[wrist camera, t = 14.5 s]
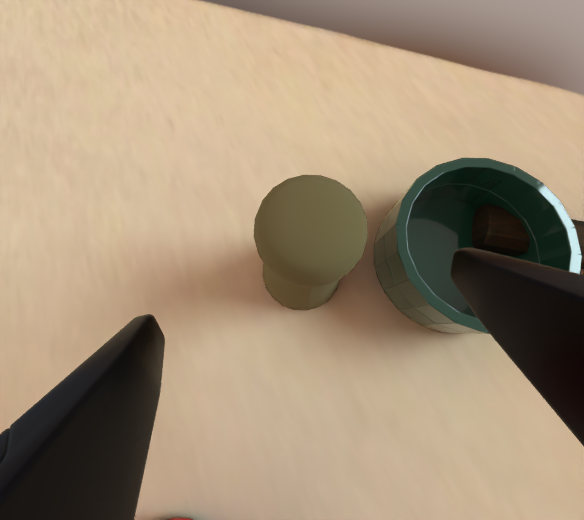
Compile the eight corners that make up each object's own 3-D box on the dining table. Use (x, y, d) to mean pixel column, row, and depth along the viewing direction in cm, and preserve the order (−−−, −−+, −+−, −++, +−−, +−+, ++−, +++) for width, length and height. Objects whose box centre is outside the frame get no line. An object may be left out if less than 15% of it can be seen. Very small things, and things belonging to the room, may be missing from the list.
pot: (440, 365, 21) (486, 375, 16) (344, 241, 23) (359, 217, 18) (549, 276, 23) (620, 261, 18) (450, 168, 25) (489, 128, 20)
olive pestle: (271, 227, 23) (256, 140, 13) (345, 241, 23) (394, 165, 12) (255, 302, 22) (222, 275, 11) (334, 317, 22) (378, 304, 11)
